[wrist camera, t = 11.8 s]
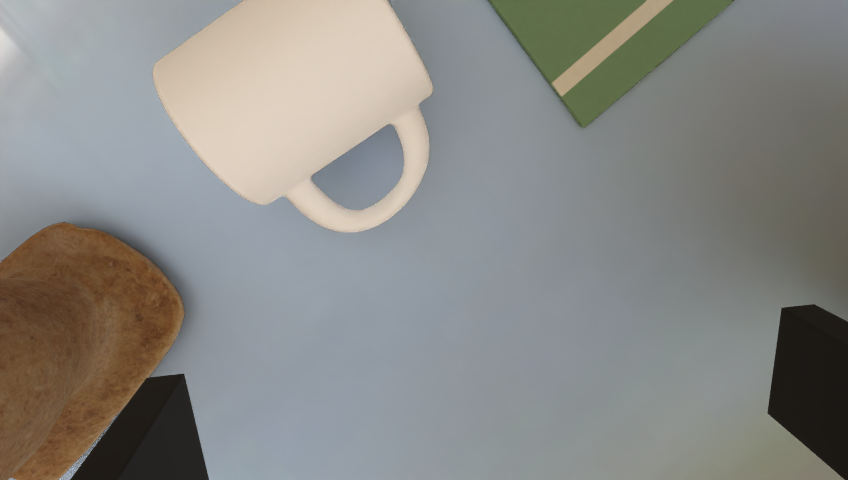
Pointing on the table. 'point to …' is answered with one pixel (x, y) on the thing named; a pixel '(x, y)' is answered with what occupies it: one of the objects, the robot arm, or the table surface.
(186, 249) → the table surface
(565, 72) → the cloth
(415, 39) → the table surface
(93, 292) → the stone cup
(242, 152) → the mug
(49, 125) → the table surface
